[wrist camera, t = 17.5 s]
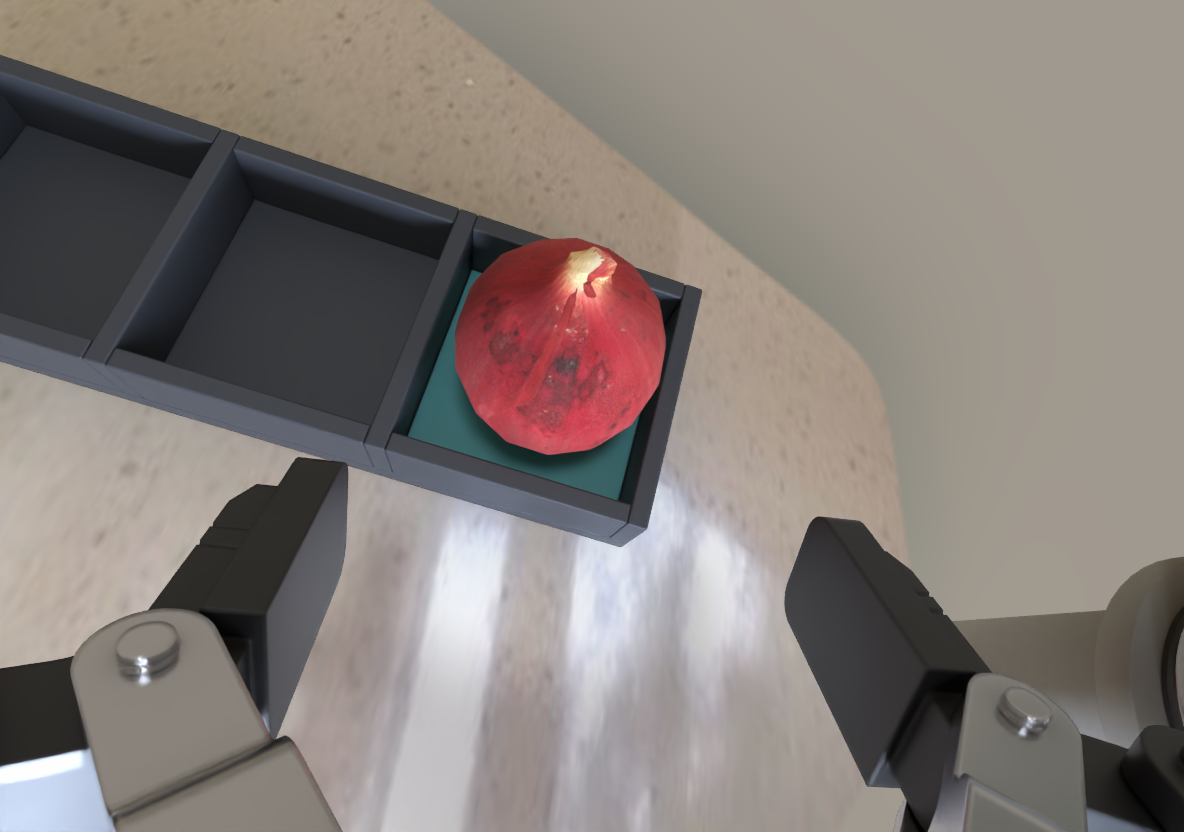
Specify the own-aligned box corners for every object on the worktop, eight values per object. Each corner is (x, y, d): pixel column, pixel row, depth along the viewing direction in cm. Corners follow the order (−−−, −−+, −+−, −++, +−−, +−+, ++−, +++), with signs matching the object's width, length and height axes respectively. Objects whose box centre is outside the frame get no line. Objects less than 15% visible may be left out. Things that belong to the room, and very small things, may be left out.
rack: (673, 333, 25) (703, 289, 22) (621, 547, 22) (647, 530, 19) (32, 123, 23) (-32, 43, 20) (-119, 326, 20) (-221, 267, 17)
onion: (608, 502, 22) (685, 422, 14) (431, 451, 21) (415, 340, 14) (646, 344, 24) (731, 203, 16) (486, 294, 23) (498, 125, 16)
